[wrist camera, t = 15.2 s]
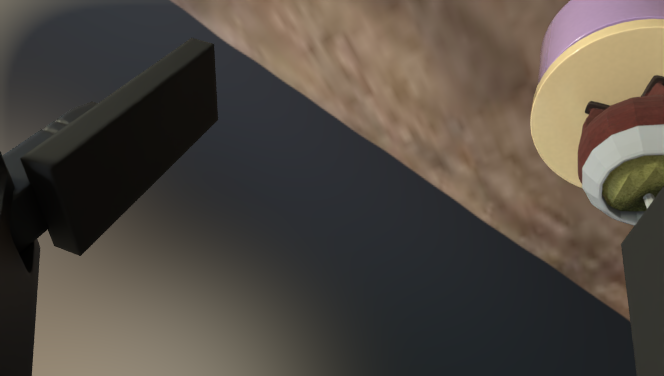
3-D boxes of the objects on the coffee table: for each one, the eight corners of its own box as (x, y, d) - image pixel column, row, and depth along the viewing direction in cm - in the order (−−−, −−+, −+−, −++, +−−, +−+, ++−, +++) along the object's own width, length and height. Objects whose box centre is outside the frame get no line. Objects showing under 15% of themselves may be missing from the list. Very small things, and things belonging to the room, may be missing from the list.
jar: (573, -46, 38) (576, 4, 30) (752, -9, 36) (810, 57, 28) (516, 96, 47) (505, 166, 38) (658, 134, 44) (680, 218, 36)
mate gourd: (604, 55, 31) (626, 205, 20) (742, 88, 30) (847, 270, 19) (556, 150, 36) (553, 312, 25) (673, 183, 35) (722, 370, 24)
